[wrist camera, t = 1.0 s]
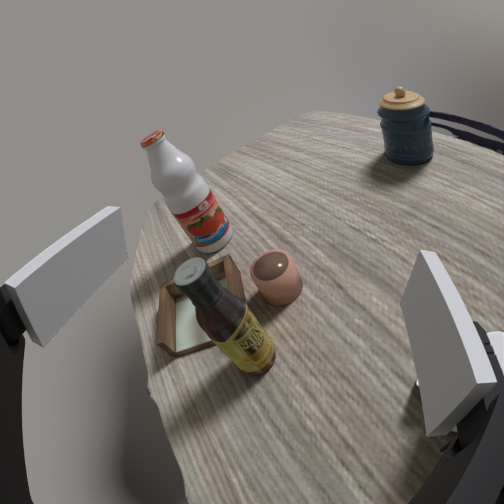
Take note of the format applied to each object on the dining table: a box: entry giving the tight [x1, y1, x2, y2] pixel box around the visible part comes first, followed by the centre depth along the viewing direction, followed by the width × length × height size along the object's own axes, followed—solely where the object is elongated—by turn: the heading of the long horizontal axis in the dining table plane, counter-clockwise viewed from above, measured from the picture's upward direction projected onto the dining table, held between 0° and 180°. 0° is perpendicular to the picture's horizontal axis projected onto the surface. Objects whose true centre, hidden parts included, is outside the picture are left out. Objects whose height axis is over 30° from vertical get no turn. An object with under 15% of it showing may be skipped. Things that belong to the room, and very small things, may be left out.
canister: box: [377, 87, 434, 165], centre depth 57 cm, size 13×13×18 cm
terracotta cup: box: [250, 249, 303, 306], centre depth 48 cm, size 7×7×6 cm
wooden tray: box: [157, 254, 246, 357], centre depth 51 cm, size 15×14×5 cm
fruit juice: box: [140, 130, 233, 253], centre depth 59 cm, size 9×9×28 cm
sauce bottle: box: [173, 257, 276, 375], centre depth 36 cm, size 6×6×20 cm
